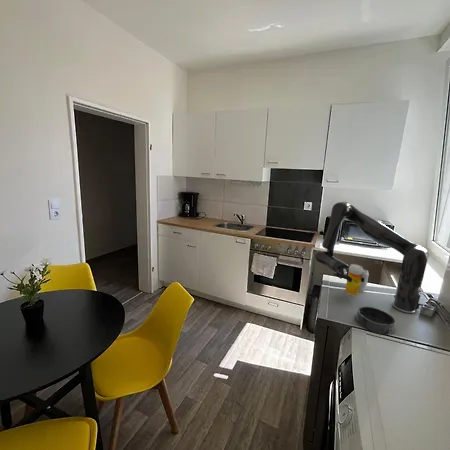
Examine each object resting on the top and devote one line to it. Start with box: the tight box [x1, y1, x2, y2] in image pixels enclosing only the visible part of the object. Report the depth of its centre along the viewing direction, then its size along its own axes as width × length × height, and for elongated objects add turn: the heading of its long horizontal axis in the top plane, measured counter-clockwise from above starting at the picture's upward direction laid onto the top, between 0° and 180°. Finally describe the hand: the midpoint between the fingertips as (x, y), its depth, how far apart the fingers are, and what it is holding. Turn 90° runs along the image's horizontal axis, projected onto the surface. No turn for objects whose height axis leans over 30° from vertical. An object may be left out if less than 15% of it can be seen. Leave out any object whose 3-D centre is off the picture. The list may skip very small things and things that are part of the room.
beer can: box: [344, 263, 364, 297], centre depth 124 cm, size 6×6×15 cm
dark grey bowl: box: [355, 306, 396, 335], centre depth 112 cm, size 15×15×4 cm
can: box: [359, 268, 370, 292], centre depth 146 cm, size 8×8×12 cm
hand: (357, 280), depth 122 cm, fingers closed on beer can, 6 cm apart
